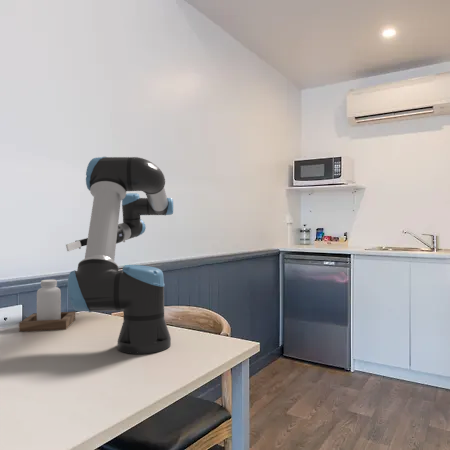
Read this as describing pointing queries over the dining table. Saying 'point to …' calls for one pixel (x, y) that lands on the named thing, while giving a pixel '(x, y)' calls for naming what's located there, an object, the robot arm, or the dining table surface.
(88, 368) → the dining table surface
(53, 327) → the tray
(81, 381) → the dining table surface
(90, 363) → the dining table surface
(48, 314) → the pill bottle
